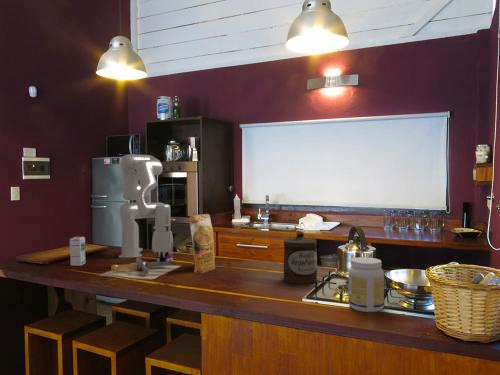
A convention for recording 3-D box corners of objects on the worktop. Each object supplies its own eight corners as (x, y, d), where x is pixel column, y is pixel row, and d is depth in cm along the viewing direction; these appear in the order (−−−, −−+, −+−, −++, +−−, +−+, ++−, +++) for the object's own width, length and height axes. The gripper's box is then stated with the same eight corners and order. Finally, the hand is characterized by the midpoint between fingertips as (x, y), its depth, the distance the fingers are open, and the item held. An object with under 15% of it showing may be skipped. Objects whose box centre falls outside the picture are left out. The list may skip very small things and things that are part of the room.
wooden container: (290, 285, 169) (290, 234, 168) (279, 277, 183) (279, 229, 182) (322, 283, 173) (322, 232, 172) (308, 274, 187) (308, 228, 186)
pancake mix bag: (185, 274, 189) (184, 215, 188) (209, 266, 205) (209, 212, 205) (196, 275, 186) (195, 216, 185) (220, 267, 202) (219, 213, 201)
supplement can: (174, 261, 217) (174, 234, 217) (169, 265, 209) (169, 236, 208) (160, 261, 218) (159, 234, 217) (155, 264, 210) (154, 236, 209)
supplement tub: (376, 301, 147) (377, 256, 146) (389, 312, 135) (389, 263, 134) (344, 302, 147) (344, 256, 146) (354, 313, 134) (354, 264, 134)
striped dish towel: (133, 264, 210) (133, 261, 210) (181, 268, 201) (181, 265, 201) (98, 277, 183) (98, 274, 183) (151, 282, 175) (151, 279, 175)
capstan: (165, 261, 211) (165, 254, 211) (176, 273, 185) (176, 265, 185) (109, 266, 200) (109, 259, 200) (113, 279, 174) (113, 271, 174)
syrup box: (81, 265, 208) (80, 238, 208) (70, 265, 208) (69, 238, 208) (85, 263, 214) (85, 236, 213) (75, 263, 214) (74, 236, 214)
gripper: (145, 228, 197) (145, 265, 198) (172, 230, 193) (172, 267, 193) (153, 226, 204) (153, 262, 205) (179, 228, 200) (179, 264, 201)
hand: (163, 264), depth 199 cm, fingers closed
